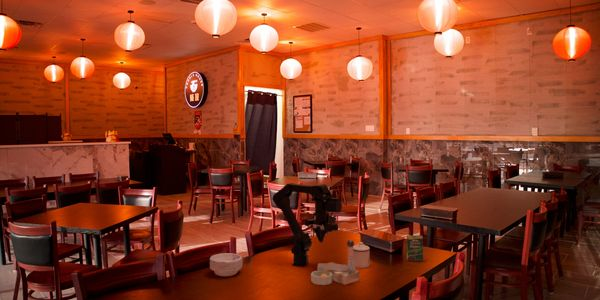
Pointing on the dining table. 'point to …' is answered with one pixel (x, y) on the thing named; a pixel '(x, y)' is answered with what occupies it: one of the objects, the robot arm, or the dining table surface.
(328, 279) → the small white bowl
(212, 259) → the paper bowls
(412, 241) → the coffee box
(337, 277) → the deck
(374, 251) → the dining table surface
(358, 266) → the teacup with lid
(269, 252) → the dining table surface
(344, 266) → the lever
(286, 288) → the dining table surface
